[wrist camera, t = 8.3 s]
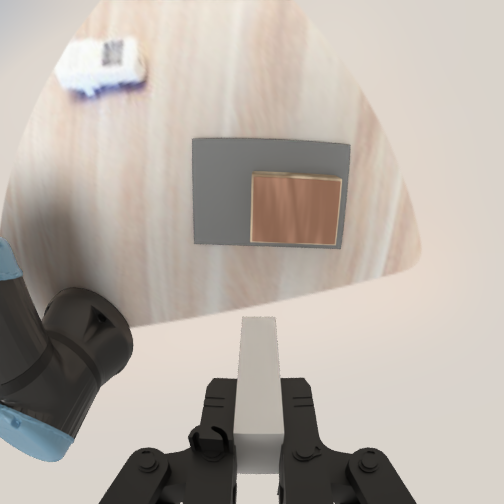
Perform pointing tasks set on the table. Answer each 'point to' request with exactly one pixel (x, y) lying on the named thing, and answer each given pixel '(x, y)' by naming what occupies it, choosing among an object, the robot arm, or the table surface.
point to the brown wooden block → (294, 208)
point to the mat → (240, 179)
